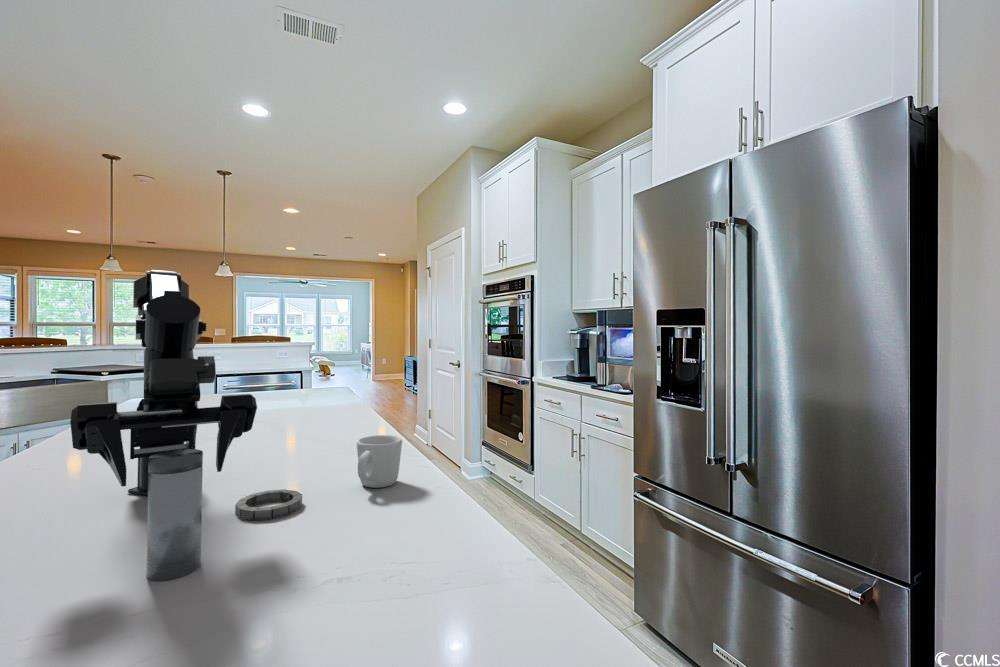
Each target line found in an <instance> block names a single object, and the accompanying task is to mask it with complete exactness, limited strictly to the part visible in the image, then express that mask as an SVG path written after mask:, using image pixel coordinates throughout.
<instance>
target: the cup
mask: <svg viewBox="0 0 1000 667" xmlns="http://www.w3.org/2000/svg"><path fill="white" fill-rule="evenodd" d="M402 447H403V439H402V438H401V437H400V436H396V435H389V434H383V435H381V434H380V435H378V434H377V435H369V436H364V437H361V438H359V439H358V440H357V441H356V449H357V450H356V452H357V461H358V462H357V475H358V478H359V480H360V483H361V485H363V486H364V487H367V488H373V489H374V488H376V489H378V488H379V489H380V488H385V487H390V486H392V485H393V484H395V483H396V482H397V481H398V478H399V471H400V464H401V455H402V454H401V453H402Z"/></svg>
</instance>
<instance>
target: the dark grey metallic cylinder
mask: <svg viewBox="0 0 1000 667" xmlns="http://www.w3.org/2000/svg"><path fill="white" fill-rule="evenodd" d="M203 457H204V452H203V450H201V449H196V448H195V449H182V450H172V451H166V452H161V453H157V454H154V455H152V456H150V457H149V469H148V495H147V525H146V526H147V532H146V578H147V579H148V580H150V581H152V582H165V581H167V582H168V581H171V580H176V579H179V578H182V577H185V576H187V575H190V574H192V573H193V572H195V571H197V570H198V569H199V568H200V566H201V565H202V562H201V561H202V560H201V559H202V514H203V513H202V512H203V511H202V510H203V504H202V503H203V460H204V459H203Z"/></svg>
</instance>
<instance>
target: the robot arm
mask: <svg viewBox="0 0 1000 667" xmlns="http://www.w3.org/2000/svg"><path fill="white" fill-rule="evenodd" d="M145 271H146V272H145V275H144V276H142V277H140V278H139V279H135V280H134V281H133V297H132V298H133V299H132V300H133V301H132V302H133V303H132V304H133V306H132V307H133V308H137V315H135V340H141V347H142V348H145V349H144V351H143V398H142V399H141V400H140V401H139V402H138V405H137V407H136V411H135V410H133V411H121V412H118V402H117V401H112V402H111V401H110V402H109V401H108V402H94V403H93V402H92V403H79V404H77V405H76V406H75V407H74V408H72V410H71V411H70V412H71V413H70V414H71V415H70V422H69V423H70V429H71V430H70V432H71V440H72V441H71V442H72V448H73V449H75V450H78V451H84V450H86V452H87V453H88V454H91V455H92V454H94V455H95V454H99V456H100V457H101V458H102V459H103V460H104V461H105V462H106V463H107V464H108V466H109V467H110V468H111V470H112V472H113V474H114V475H115V477H116V479H117V481H118V483H119V484H120V486H121V487H126V486H127V464H126V458H125V453H124V452H125V451H124V446H123V440H122V439H123V438H122V431H125V430H130V444H129V445H130V447H129V448H130V450H129V452H130V453H129V458H130V459H129V460H134V459H137V483H136V484H137V486H136V487H132V488H128V489H127V493H128V494H134V495H135V494H136V495H141V496H143V495H144V496H148V469H149V457H150V456H152V455H154V454H157V453H161V452H166V451H172V450H182V449H196V442H197V441H196V439H197V429H198V425H207V424H215V423H216V424H217V427H218V431H217V434H216V435H217V437H216V453H215V454H216V458H215V467H216V472H217V473H220V472H222V470H223V466H224V463H225V459H226V455H227V452H228V449H229V447H230V446H231V444H232V442H233V440H234V439H236V438H240V437H241V436H242V435H243V433H247V432H249V431H251V430H252V429H253V425H254V420H255V417H256V414H257V409H258V404H257V400H256V397H255V396H253V394H251V393H241V394H226V395H225V394H223V395H221V399H220V405H219V406H212V407H211V406H209V407H198V405H199V404H198V402H200V401H201V384H212V383H214V382H215V379H216V374H217V373H216V371H217V370H216V361H215V356H214V355H210V356H206V355H204V356H197V358H194V356H195V355H194V349H195V347H196V345H197V341H198V340H199V339H200V338H201V337H202V334H203V333H205V332H207V323H206V322H203V320H202V319H201V318H200V316H201V307H200V306H199V304H197V303H196V302H195V301H194V300H193V299H191V298H190V285H189V284H188V283H187V282H186V281H184V280H182V273H178V272H177V271H170V270H158V269H151V270H145Z"/></svg>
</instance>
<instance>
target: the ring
mask: <svg viewBox="0 0 1000 667" xmlns="http://www.w3.org/2000/svg"><path fill="white" fill-rule="evenodd" d="M269 502H285V503H282V504H278V505H277V504H276V505H274V506H263V507H254V506H256V505H259V504H264V503H269ZM302 505H303V494H302V493H300V492H299V491H298V490H290V489H271V490H264V491H260V492H259V491H258V492H256V493H252V494H248V495H246V496H245V497H242V498H240V499H238V501H237V502H236V503H235V505H234V506H235V508H234V509H235V511H234V512H235V514H234V515H235V516H236V517H237V518H238V519H240V520H245V521H255V522H256V521H257V522H258V521H269V520H274V519H278V518H282V517H283V518H284V517H286V516H289V515H292V514H293V513H295V512H297V511H299V510H300V509H301V508H302Z"/></svg>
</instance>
